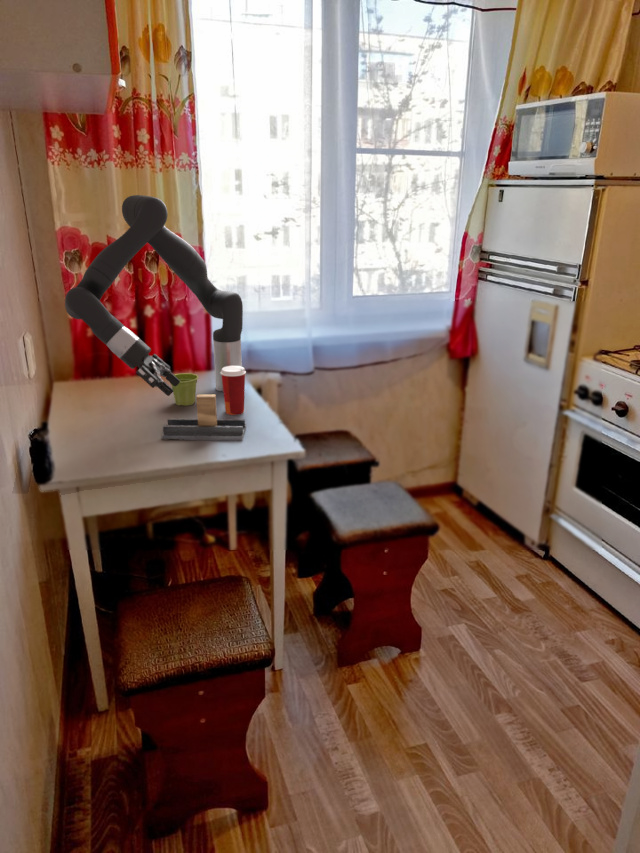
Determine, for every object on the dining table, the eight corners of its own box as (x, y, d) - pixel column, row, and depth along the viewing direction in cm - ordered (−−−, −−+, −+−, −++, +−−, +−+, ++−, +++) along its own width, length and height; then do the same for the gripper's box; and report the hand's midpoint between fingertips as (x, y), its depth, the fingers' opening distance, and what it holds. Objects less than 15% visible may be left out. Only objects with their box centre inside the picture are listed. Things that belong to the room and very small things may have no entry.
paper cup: (251, 409, 192) (250, 366, 187) (240, 417, 185) (238, 373, 180) (229, 406, 194) (227, 364, 189) (217, 414, 188) (215, 370, 183)
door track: (170, 426, 178) (169, 416, 177) (246, 427, 178) (245, 417, 177) (162, 439, 168) (161, 428, 167) (242, 440, 168) (241, 429, 167)
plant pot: (177, 409, 191) (175, 383, 188) (165, 401, 198) (163, 376, 195) (204, 404, 196) (203, 378, 193) (192, 396, 203) (190, 371, 200)
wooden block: (199, 428, 174) (197, 394, 170) (217, 427, 174) (215, 394, 170) (198, 431, 171) (196, 397, 168) (216, 431, 172) (214, 397, 168)
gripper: (130, 344, 156) (178, 387, 161) (144, 332, 170) (188, 372, 174) (111, 364, 158) (159, 406, 162) (127, 350, 171) (171, 390, 176)
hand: (174, 388), depth 168 cm, fingers open, 8 cm apart
